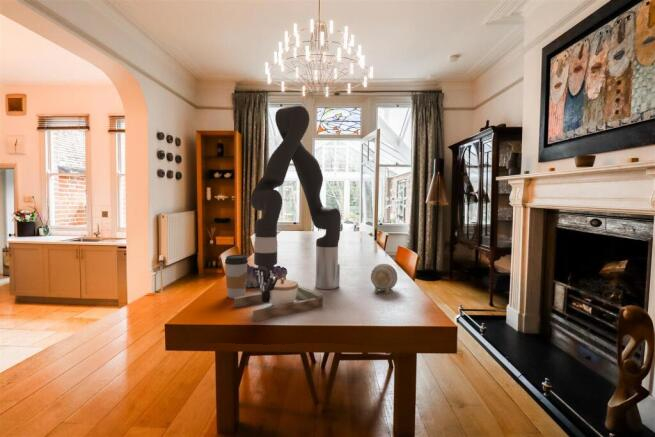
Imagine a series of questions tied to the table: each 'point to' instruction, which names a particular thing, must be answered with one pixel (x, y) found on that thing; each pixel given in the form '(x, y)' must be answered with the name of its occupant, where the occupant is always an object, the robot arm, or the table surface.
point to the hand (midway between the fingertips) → (265, 301)
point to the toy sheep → (383, 277)
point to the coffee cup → (236, 275)
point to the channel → (308, 302)
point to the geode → (251, 277)
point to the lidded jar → (283, 292)
